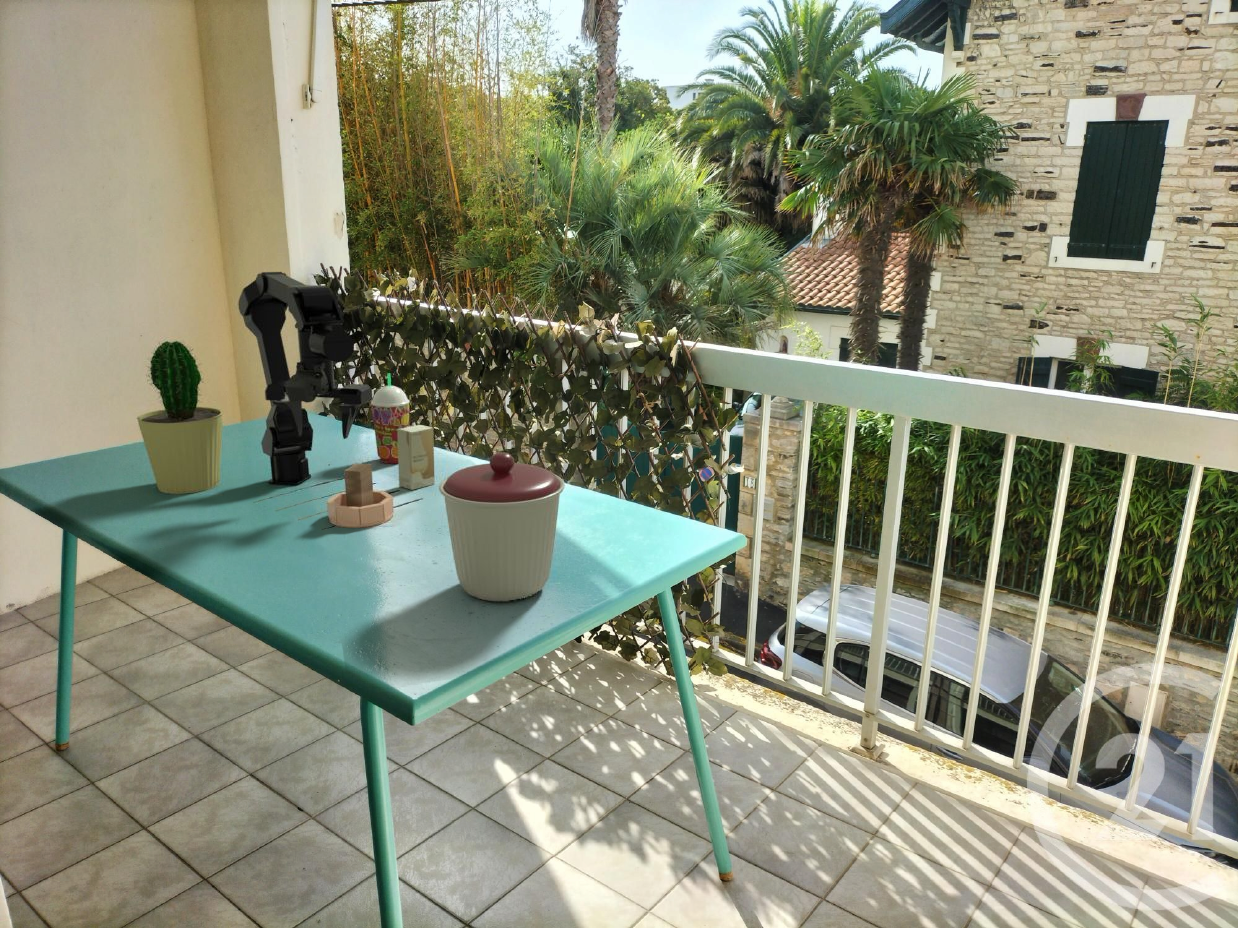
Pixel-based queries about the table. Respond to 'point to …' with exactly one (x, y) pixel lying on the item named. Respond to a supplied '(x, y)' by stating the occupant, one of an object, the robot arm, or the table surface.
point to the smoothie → (389, 420)
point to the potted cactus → (181, 425)
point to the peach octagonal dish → (360, 511)
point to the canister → (502, 526)
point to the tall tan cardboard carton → (359, 485)
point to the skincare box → (416, 456)
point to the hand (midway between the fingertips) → (322, 437)
